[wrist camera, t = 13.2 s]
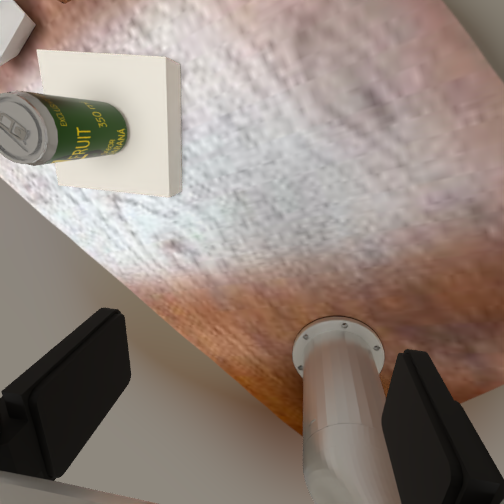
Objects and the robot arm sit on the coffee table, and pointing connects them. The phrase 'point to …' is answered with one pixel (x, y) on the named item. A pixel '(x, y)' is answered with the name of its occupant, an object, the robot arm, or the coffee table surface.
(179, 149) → the riser block
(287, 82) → the coffee table surface
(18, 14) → the figurine
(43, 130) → the beer can
